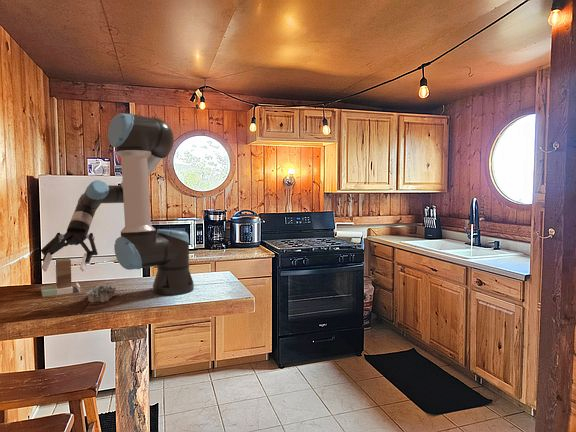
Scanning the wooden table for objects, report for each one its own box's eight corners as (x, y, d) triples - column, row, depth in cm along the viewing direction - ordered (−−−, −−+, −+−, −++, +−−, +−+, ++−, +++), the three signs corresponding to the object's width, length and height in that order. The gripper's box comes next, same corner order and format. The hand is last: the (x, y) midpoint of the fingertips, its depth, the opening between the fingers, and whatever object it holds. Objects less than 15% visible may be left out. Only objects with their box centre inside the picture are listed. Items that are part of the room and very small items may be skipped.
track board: (80, 292, 147) (80, 286, 147) (42, 296, 140) (42, 291, 140) (77, 287, 153) (77, 282, 152) (41, 292, 146) (41, 287, 145)
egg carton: (106, 303, 135) (106, 291, 135) (84, 303, 134) (83, 291, 134) (118, 294, 146) (118, 283, 145) (97, 294, 145) (97, 283, 145)
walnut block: (71, 287, 146) (70, 260, 145) (57, 288, 144) (56, 261, 143) (70, 284, 150) (69, 258, 149) (56, 286, 147) (55, 259, 146)
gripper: (113, 231, 165) (100, 274, 151) (51, 230, 163) (32, 274, 149) (108, 219, 159) (94, 263, 145) (44, 218, 157) (23, 263, 143)
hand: (62, 269), depth 147 cm, fingers open, 13 cm apart
